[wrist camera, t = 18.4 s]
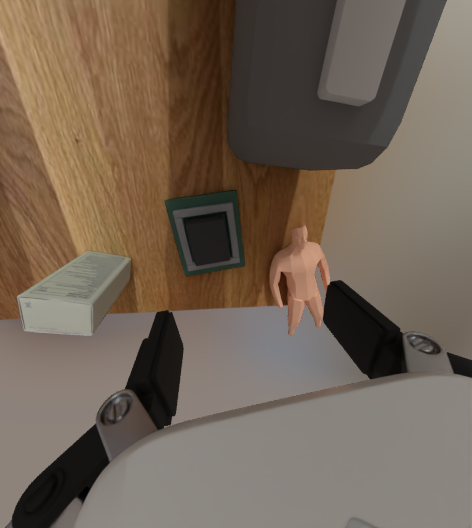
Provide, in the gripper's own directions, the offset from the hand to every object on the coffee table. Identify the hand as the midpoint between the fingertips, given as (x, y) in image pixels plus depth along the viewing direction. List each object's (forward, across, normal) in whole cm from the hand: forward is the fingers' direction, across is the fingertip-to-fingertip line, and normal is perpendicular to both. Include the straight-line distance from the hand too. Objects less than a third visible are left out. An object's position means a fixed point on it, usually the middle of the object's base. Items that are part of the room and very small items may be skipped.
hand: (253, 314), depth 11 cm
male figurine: (+19, -14, +25) cm, 35 cm away
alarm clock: (+21, -8, -15) cm, 27 cm away
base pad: (+20, +3, +1) cm, 21 cm away
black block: (+20, +2, +1) cm, 20 cm away
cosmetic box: (+20, +18, +4) cm, 28 cm away
